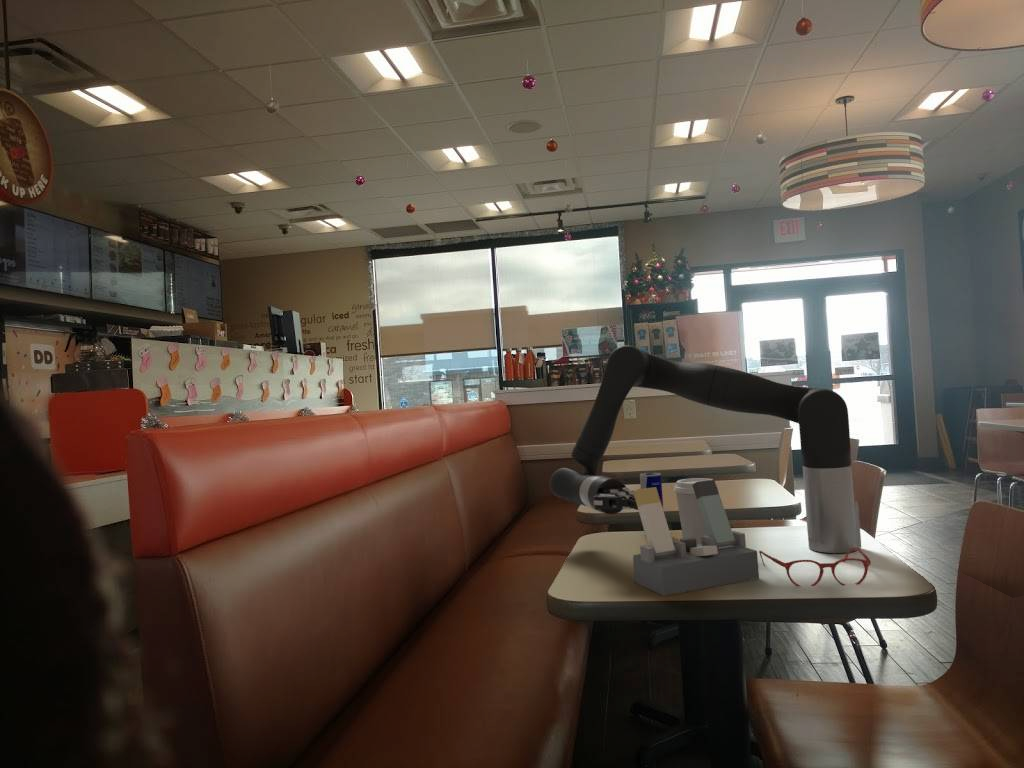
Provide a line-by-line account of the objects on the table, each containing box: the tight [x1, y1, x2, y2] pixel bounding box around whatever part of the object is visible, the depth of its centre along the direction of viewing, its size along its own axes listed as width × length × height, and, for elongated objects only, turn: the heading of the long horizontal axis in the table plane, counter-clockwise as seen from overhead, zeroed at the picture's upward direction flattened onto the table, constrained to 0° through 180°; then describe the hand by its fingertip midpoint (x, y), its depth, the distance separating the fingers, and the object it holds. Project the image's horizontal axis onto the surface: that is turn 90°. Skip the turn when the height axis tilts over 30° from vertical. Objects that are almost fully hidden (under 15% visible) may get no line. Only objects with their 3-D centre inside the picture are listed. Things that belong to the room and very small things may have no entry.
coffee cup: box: [673, 477, 719, 545], centre depth 146 cm, size 10×10×15 cm
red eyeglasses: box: [758, 547, 872, 587], centre depth 123 cm, size 17×16×5 cm
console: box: [632, 530, 760, 597], centre depth 124 cm, size 21×10×8 cm, turn 109°
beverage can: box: [639, 472, 665, 533], centre depth 164 cm, size 5×5×15 cm
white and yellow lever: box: [633, 487, 677, 558], centre depth 124 cm, size 5×2×13 cm, turn 109°
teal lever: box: [692, 479, 736, 548], centre depth 128 cm, size 5×2×13 cm, turn 109°
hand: (643, 504), depth 128 cm, fingers closed
